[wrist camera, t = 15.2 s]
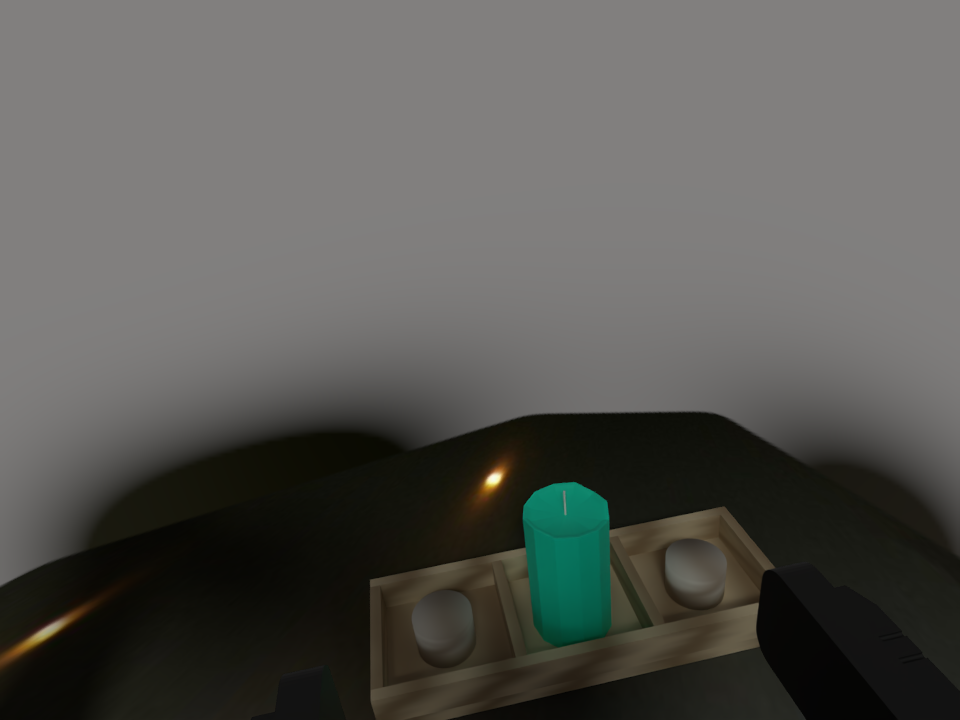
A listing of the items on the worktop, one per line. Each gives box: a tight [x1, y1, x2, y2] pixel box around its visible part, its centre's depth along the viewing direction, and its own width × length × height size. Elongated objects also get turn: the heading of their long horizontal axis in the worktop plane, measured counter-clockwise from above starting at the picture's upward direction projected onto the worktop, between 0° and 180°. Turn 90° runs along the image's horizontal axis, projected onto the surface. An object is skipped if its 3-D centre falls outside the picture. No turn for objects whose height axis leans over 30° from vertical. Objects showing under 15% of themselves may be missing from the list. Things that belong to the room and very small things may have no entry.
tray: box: [370, 507, 775, 720], centre depth 46 cm, size 30×11×4 cm, turn 100°
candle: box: [523, 482, 612, 648], centre depth 44 cm, size 6×6×12 cm
